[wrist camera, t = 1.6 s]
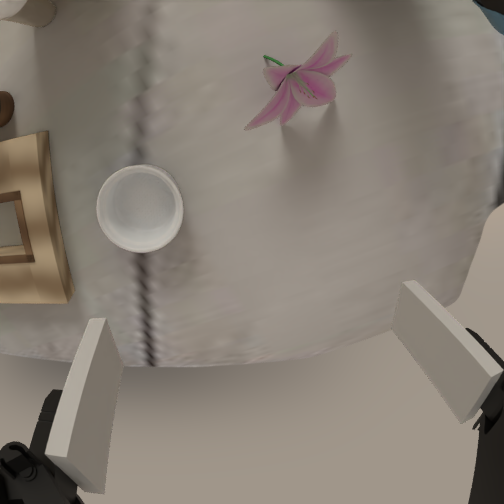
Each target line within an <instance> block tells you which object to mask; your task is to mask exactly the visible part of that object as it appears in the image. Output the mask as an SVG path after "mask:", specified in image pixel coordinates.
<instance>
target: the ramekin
mask: <svg viewBox="0 0 504 504" xmlns="http://www.w3.org/2000/svg"><path fill="white" fill-rule="evenodd" d="M96 211H97V218H98V222H99V225H100V227H101V229H102V231H103V232H104V234H105V235H106V236H107V238H108V239H109V240H110V241H111V242H113V243H114V244H115V245H117V246H118V247H120V248H122V249H124V250H127V251H130V252H136V253H147V252H152V251H156V250H158V249H161V248H163V247H164V246H166V245H167V244H168V243H170V242H171V241H172V240H173V239H174V237H175V236H176V235H177V233H178V231H179V229H180V228H181V225H182V221H183V215H184V207H183V200H182V197H181V192H180V190H179V187H178V185H177V183H176V181H175V180H174V178H173V177H172V176H171V175H170V174H169V173H168V172H167V171H165V170H163V169H162V168H159V167H158V166H154V165H149V164H142V165H135V166H129V167H126V168H123V169H120V170H119V171H117V172H115V173H114V174H112V175H111V176H110V177H109V178H108V179H107V180H106V181H105V183H104V184H103V186H102V187H101V190H100V192H99V195H98V198H97V205H96Z"/></svg>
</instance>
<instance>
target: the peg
mask: <svg viewBox="0 0 504 504" xmlns="http://www.w3.org/2000/svg"><path fill="white" fill-rule="evenodd" d="M13 111H14V100H13V97H12V96H11V94H10V93H8V92H6V91H0V127H3V126H5V125H6V124H7V123H8V122H9V121H10V119H11V117H12V115H13Z"/></svg>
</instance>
